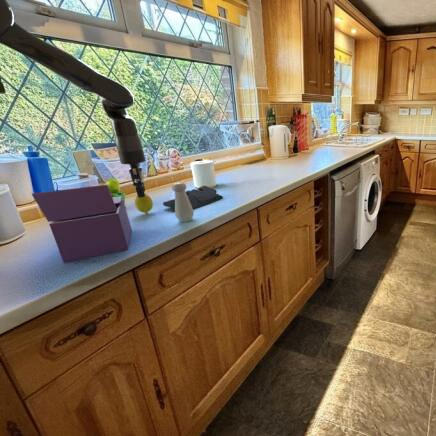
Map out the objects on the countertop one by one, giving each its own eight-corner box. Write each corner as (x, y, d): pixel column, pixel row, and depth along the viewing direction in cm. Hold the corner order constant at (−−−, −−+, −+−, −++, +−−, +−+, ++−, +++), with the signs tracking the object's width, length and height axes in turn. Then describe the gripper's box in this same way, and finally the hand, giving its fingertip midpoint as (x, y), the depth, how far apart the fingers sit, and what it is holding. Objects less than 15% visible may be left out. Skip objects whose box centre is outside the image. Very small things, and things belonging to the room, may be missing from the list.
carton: (128, 249, 82) (117, 210, 78) (63, 263, 76) (47, 220, 72) (131, 230, 96) (122, 196, 92) (77, 240, 90) (64, 203, 86)
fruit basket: (93, 208, 121) (84, 180, 117) (115, 202, 128) (108, 176, 125) (110, 211, 116) (101, 182, 112) (132, 205, 124) (125, 177, 120)
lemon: (135, 214, 111) (129, 193, 109) (150, 210, 116) (145, 190, 113) (142, 217, 108) (136, 195, 106) (157, 212, 113) (152, 191, 110)
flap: (117, 210, 78) (117, 211, 78) (48, 220, 72) (48, 222, 72) (107, 184, 73) (107, 185, 73) (31, 193, 67) (31, 194, 66)
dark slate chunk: (157, 208, 117) (154, 197, 116) (199, 194, 136) (197, 184, 134) (186, 212, 111) (183, 200, 110) (226, 197, 130) (225, 186, 129)
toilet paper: (190, 187, 150) (185, 163, 146) (208, 182, 158) (204, 159, 154) (203, 189, 145) (199, 164, 141) (221, 184, 153) (217, 160, 149)
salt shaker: (189, 216, 107) (181, 180, 103) (198, 219, 104) (191, 182, 100) (173, 221, 103) (165, 184, 98) (182, 224, 99) (174, 185, 95)
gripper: (119, 148, 108) (131, 191, 114) (115, 152, 96) (128, 200, 102) (143, 146, 112) (153, 188, 117) (142, 149, 100) (153, 197, 105)
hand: (142, 194), depth 110 cm, fingers open, 8 cm apart
